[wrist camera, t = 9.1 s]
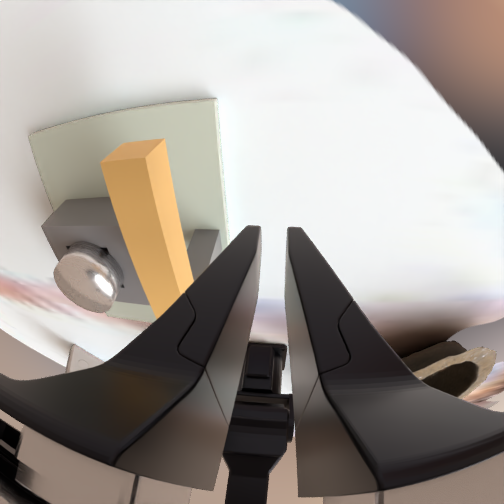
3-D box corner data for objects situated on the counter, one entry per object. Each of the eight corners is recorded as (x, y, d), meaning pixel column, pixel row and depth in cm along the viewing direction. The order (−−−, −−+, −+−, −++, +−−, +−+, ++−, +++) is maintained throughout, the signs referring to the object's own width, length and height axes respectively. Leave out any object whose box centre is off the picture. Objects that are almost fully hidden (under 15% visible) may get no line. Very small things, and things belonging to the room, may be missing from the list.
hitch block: (238, 324, 33) (229, 388, 27) (110, 310, 34) (87, 361, 28) (217, 98, 17) (177, 135, 11) (35, 132, 18) (-28, 177, 12)
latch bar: (209, 323, 19) (203, 349, 17) (172, 319, 19) (164, 344, 18) (171, 137, 11) (152, 156, 9) (117, 143, 11) (93, 163, 9)
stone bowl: (320, 396, 45) (320, 443, 38) (378, 298, 30) (396, 368, 23) (432, 393, 45) (440, 432, 37) (508, 309, 30) (531, 356, 22)
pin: (147, 261, 26) (121, 316, 21) (100, 258, 26) (71, 307, 21) (131, 212, 22) (95, 266, 17) (81, 213, 23) (43, 261, 18)
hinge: (69, 349, 47) (54, 387, 38) (76, 337, 45) (61, 376, 37) (137, 387, 53) (132, 426, 45) (148, 378, 52) (143, 418, 43)
